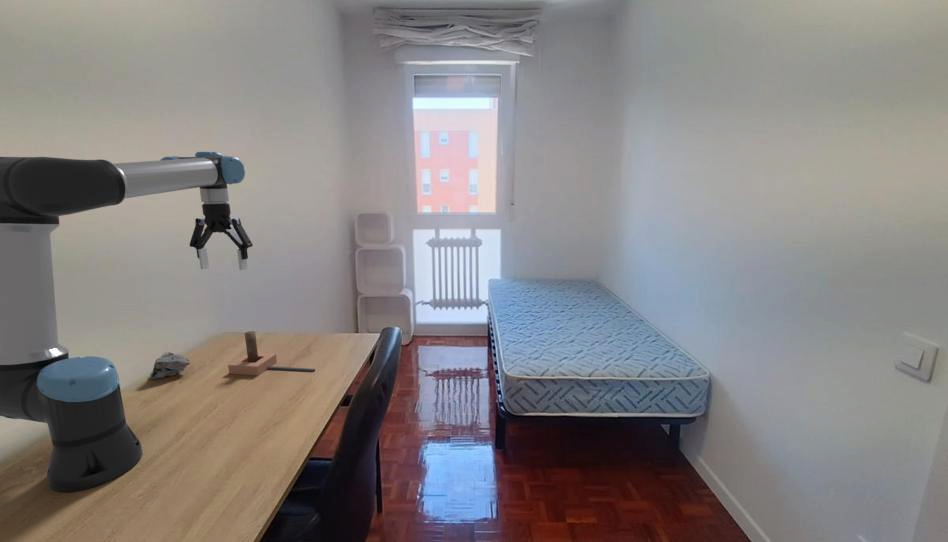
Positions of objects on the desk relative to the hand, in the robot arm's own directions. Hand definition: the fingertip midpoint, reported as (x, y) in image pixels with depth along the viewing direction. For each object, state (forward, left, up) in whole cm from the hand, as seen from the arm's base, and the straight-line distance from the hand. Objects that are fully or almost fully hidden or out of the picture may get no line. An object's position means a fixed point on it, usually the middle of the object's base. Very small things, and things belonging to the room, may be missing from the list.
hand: (224, 268), depth 139 cm
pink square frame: (-5, -10, -32) cm, 34 cm away
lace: (-5, -23, -32) cm, 39 cm away
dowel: (-5, -10, -32) cm, 34 cm away
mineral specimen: (-13, +12, -32) cm, 37 cm away
